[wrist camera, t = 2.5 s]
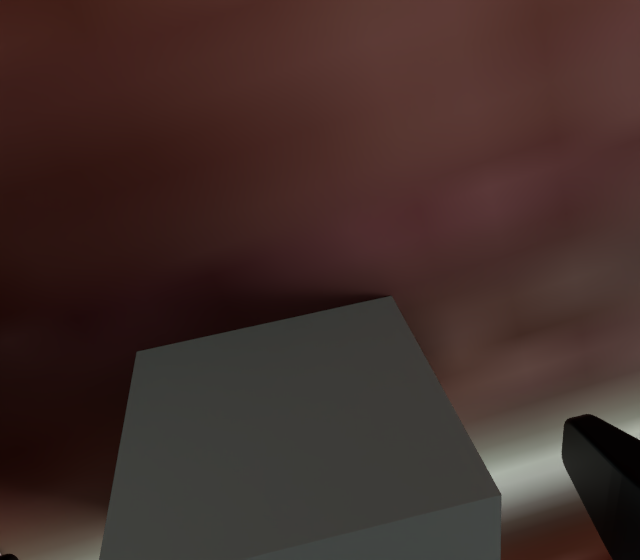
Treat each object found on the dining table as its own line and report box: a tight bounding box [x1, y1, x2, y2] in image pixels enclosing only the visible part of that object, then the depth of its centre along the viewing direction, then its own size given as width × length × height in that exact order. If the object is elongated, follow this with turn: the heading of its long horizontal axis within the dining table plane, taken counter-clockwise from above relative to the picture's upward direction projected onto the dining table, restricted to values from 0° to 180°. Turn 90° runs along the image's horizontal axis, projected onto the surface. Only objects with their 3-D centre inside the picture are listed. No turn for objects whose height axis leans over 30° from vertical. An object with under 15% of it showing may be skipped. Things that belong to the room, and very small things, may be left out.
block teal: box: [99, 296, 501, 560], centre depth 9 cm, size 4×4×4 cm
